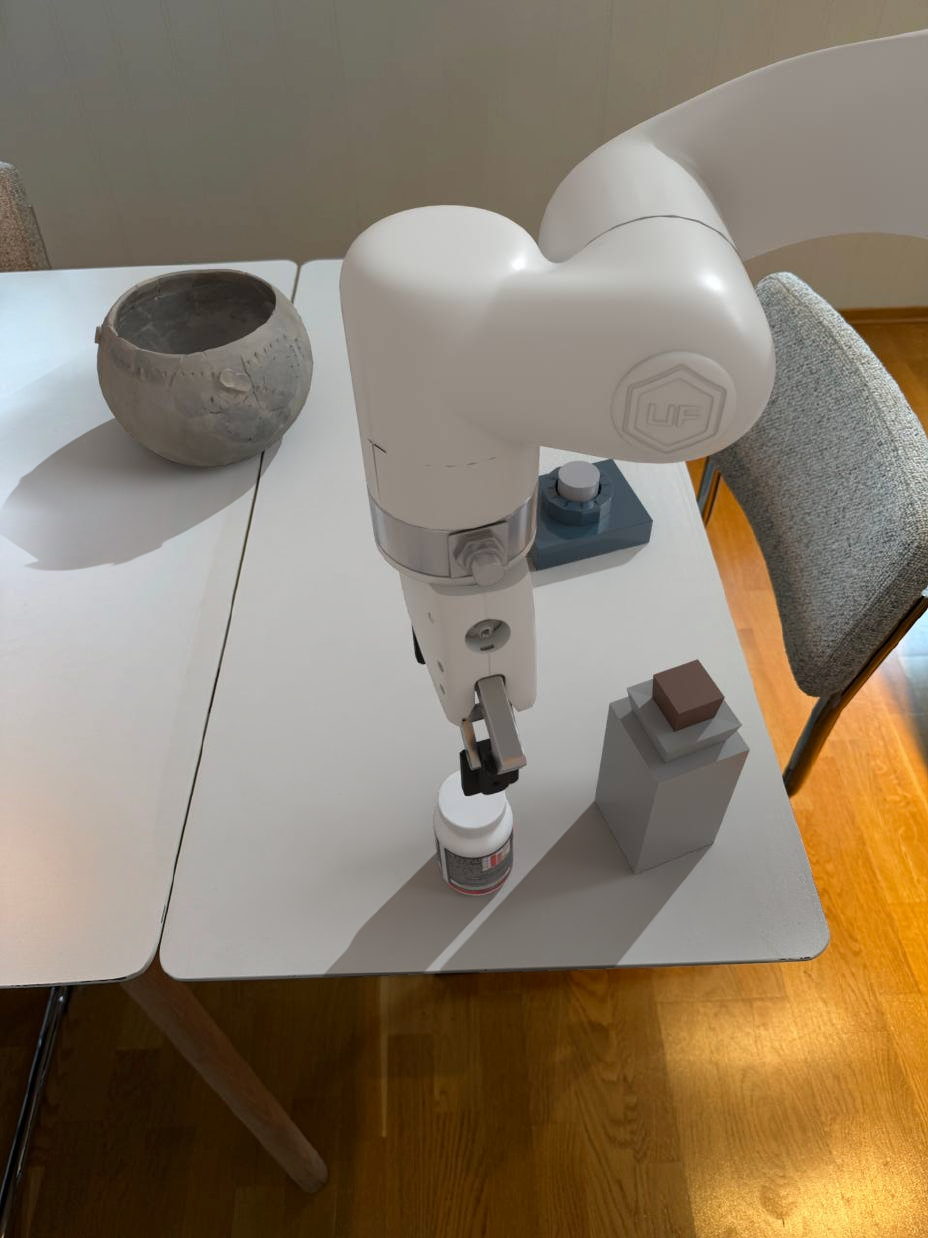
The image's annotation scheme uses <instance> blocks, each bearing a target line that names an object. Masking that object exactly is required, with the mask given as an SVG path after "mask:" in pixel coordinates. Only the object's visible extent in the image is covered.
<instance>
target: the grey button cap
mask: <svg viewBox="0 0 928 1238" xmlns="http://www.w3.org/2000/svg"><path fill="white" fill-rule="evenodd" d="M591 463H592V462H588V461H585V460H572V461H568V462H566V463H564V464H562V465H561V466H562V467H561V468H560V470H559V473H558V488H557V489H558V493H559V495H560V496H561V497H562V498H564V499H565V500H567V501H570V502H578V503H583V502H587V501H591V500H593V499H594V498H595V497H596V496H597V494H598V489H599V479H600V473H599V470H598V469H597V467H596V466H594V465H593V464H591Z"/></svg>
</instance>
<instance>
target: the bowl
mask: <svg viewBox="0 0 928 1238" xmlns="http://www.w3.org/2000/svg"><path fill="white" fill-rule="evenodd" d="M94 344H97V352H96V371H97V377H98V383H99V387H100V391H101V394H102V397H103V398H104V401H105V403H106V405H107V407H108V408H109V410H110V412H111V413H112V416H114V417H115V419H116V421H117V422H118V423H119V424H120V425H121V426H122V428H123V429H124V430H125V432H126V433H127V434H129V435H130V436H131V437H132V438H134V439H135V440H136V442H138V443H139V444H141V445H142V446H143V447H145V448H146V449H148V450H149V451H151V452H152V453H154V454H156V455H157V456H159V457H161V458H163V459H166V460H168V461H172V462H174V463H177V464H182V465H186V466H187V465H188V466H193V467H218V466H228V465H231V464H235V463H239V462H242V461H243V462H244V461H246V460H248V459H250V458H253V457H255V456H256V455H259V454H260V453H263V452H265V451H266V450H268V449H270V448H271V447H272V446H274V445H275V444H276V443H277V442H278V441H279V440H280V439H281V438H282V437H284V435H285V434H286V433H287V432H288V431H289V429H290V428H291V427H292V426H293V425H294V424H295V422H296V421H297V420H298V417H299V416H300V414H301V412H302V410H303V409H304V407H305V405H306V402H307V399H308V397H309V394H310V390H311V384H312V380H313V373H314V357H313V352H312V345H311V339H310V337H309V335H308V332H307V328H306V325H305V324H304V321H303V319H302V317H301V315H300V314H299V312H298V309H297V308H296V307H295V306H294V304H293V303H292V302H291V300H290V299H289V298H288V297H287V296H286V294H284V293H283V292H282V291H281V290H280V289H279V288H277V287H276V285H274V284H272V283H270V282H269V281H267V280H266V279H264V278H262V277H260V276H258V275H255V274H253V273H250V272H247V271H242V270H239V269H232V268H204V269H202V268H201V269H198V268H195V269H194V268H193V269H186V270H185V269H184V270H179V271H171V272H168V273H163V274H159V275H155V276H153V277H149V278H147V279H144V280H142V281H140V282H138V283H136V284H135V285H133V286H132V287H130V288H129V289H127V290H126V291H125V292H124V293H122V294H121V295H120V296H119V297H118V298H117V300H116V301H115V303H113V305H111V307H110V308H109V310H108V312H107V314H106V315H105V316H104V319H103V322H102V323H101V324H100V325H97V326H96V328H95V334H94Z"/></svg>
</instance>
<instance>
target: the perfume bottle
mask: <svg viewBox="0 0 928 1238" xmlns="http://www.w3.org/2000/svg"><path fill="white" fill-rule="evenodd" d="M626 692H627V696H626V697H622V698H620V699H617V700H614V701H611V702H609V703H608V711H607V718H606V724H605V731H604V736H603V737H604V738H603V744H602V749H601V757H600V762H599V769H598V770H599V771H598V775H597V776H598V777H597V782H596V789H595V796H594V802H595V803H596V806H597V807H598V809H599V811H600V813H601V815H602V816H603V818H604V820H605V822H606V824H607V825H608V828H609V829H610V831H611V833H612V835H613V837H614V839H615V840H616V843H617V844H618V846H619V848H620V849H621V851H622V853H623V855H624V857H625V859H626V861H627V863H628V865H629V866H630V868H631V870H632V872H633V874H634V875H638V874H640V873H642V872H645V871H647V870H650V869H653V868H655V867H658V866H661V865H663V864H665V863H668V862H670V861H673V860H675V859H678V858H680V857H682V856H685V855H688V854H691V853H693V852H696V851H698V850H700V849H703V848H705V847H708V846H710V845H713V844H714V843H715V841H716V839H717V836H718V833H719V831H720V828H721V826H722V824H723V821H724V818H725V815H726V812H727V810H728V807H729V805H730V803H731V800H732V797H733V795H734V792H735V789H736V787H737V784H738V781H739V779H740V776H741V775H742V774H741V773H742V771H743V769H744V766H745V763H746V762H747V758H748V755H749V753H750V750H751V748H750V747H749V745H748V744H747V743H746V741H745V739H744V738H743V737H742V735H741V733H739V731H738V730H739V729H741V727H742V726H743V724H742V723H741V721H740V720H739V718H738V717H737V716H736V714H735V712H734V711H733V710H732V709H731V707H730V706H729V704H728V703H727V701H726V700H725V698H726V696H725V695H724V694H723V692H722V691H721V689H720V688H719V687H718V686H717V683H716V682H715V681H714V679H713V678H712V677H711V675H710V674H709V672H708V671H707V670H706V668H705V667H704V665H703V664H702V663H701V661H700V660H699V659H698V658H697V659H694V660H691V661H689V662H685V663H683V664H680V665H677V666H674V667H672V668H669V669H665V670H662V671H660V672H657V673H653V674H652V678H651V679H648V680H646V681H645V680H644V681H641V682H639V683H637V684H634V685H631V686H628V687H626Z"/></svg>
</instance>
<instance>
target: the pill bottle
mask: <svg viewBox="0 0 928 1238" xmlns="http://www.w3.org/2000/svg"><path fill="white" fill-rule="evenodd" d="M432 816H433V817H432V818H433V819H432V828H433V834H434V840H435V849H436V856H437V863H438V868H439V871H440V874H441V876H442V878H443V879H444V881H445V882H446V884H447V885H449V886H450V888H452V889H453V890H455V891H456V892H458V893H461V894H463V895H467V896H484V895H488V894H491V893H493V892H496V890H498V889H499V888H501V887H502V886H503V885H504V884H505V883H506V882H507V880H508V879H509V877H510V875H511V873H512V870H513V866H514V815H513V809H512V807H511V805H510V802H509V801H508V799H507V794H506V789H505V790H503V791H501V792H498V793H495V794H491V795H483V794H482V793H479V794H476V795H472V796H465V795H464V793H463V790H462V787H461V772H460V769H459V770H457V771H454V772H453V773H451V774H449V776H448V777H446V778H445V780H444V781H443V782H442V784H441V785H440V787H439V789H438V793H437V803H436V805H435V807H434V811H433V815H432Z"/></svg>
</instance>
